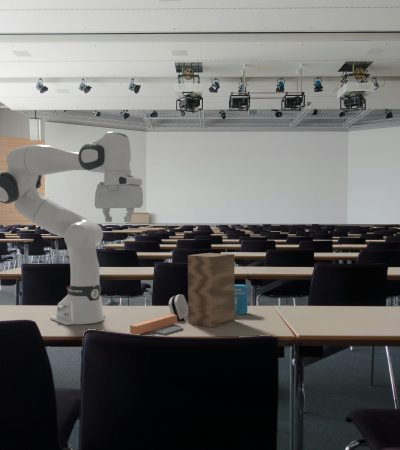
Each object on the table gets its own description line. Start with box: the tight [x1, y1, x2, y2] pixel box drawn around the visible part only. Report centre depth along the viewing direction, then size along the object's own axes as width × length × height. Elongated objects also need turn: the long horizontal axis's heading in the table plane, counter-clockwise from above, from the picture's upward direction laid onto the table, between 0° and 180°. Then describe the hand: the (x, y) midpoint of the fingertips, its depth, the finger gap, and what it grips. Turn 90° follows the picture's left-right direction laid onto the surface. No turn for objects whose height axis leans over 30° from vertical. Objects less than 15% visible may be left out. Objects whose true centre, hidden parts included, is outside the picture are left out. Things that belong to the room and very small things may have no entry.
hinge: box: [168, 294, 188, 322], centre depth 190 cm, size 17×5×10 cm, turn 171°
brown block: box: [187, 252, 236, 328], centre depth 180 cm, size 12×14×26 cm
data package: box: [234, 283, 248, 316], centre depth 195 cm, size 12×4×12 cm, turn 84°
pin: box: [129, 313, 178, 335], centre depth 168 cm, size 3×22×3 cm, turn 144°
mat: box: [148, 325, 184, 336], centre depth 168 cm, size 14×10×1 cm
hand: (118, 222), depth 156 cm, fingers open, 8 cm apart
